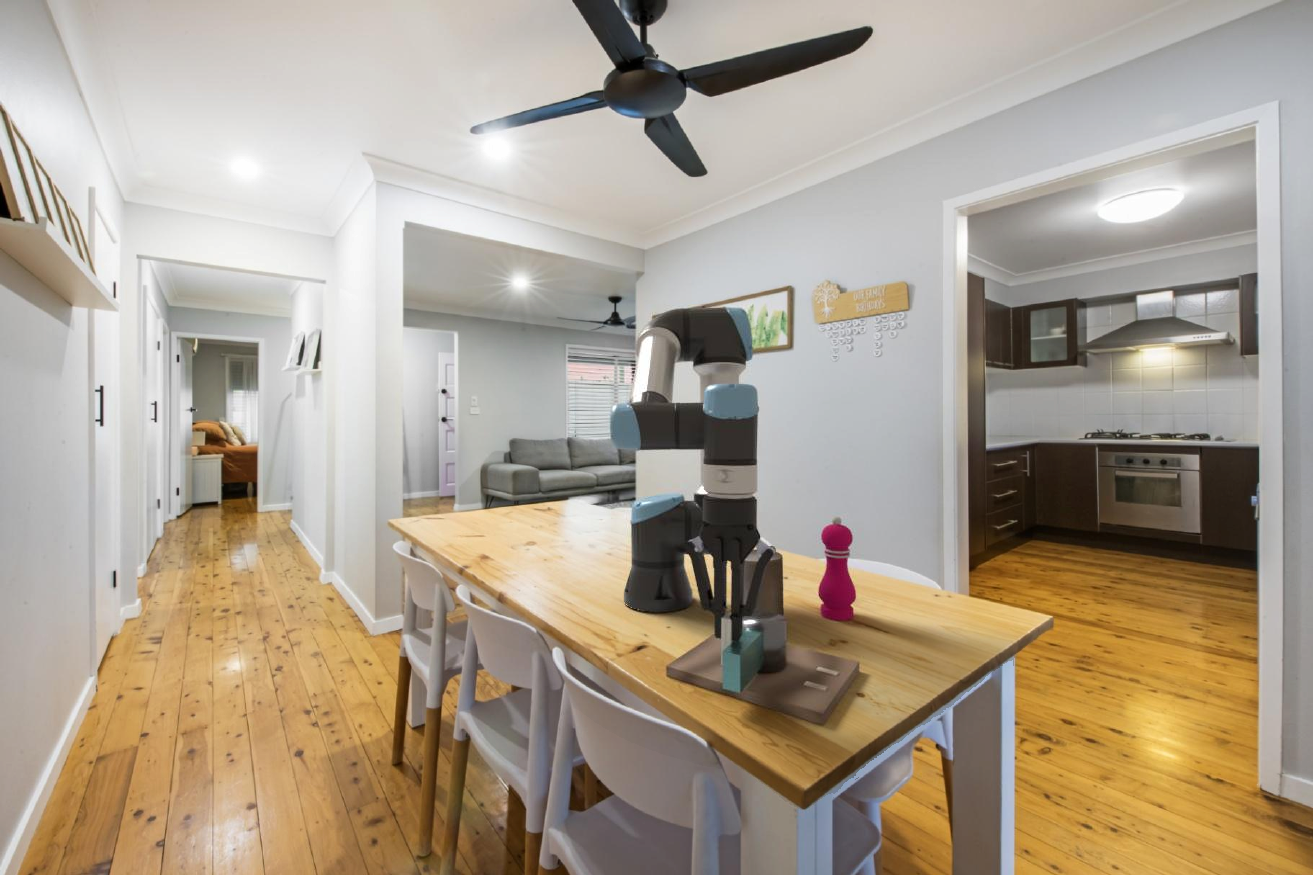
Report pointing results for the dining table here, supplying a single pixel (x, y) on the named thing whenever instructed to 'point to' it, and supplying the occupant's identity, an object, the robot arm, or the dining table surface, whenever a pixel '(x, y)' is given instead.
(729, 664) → the cylinder with teal slab
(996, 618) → the dining table surface
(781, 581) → the pillar candle
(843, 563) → the pepper mill
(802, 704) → the base
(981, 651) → the dining table surface
